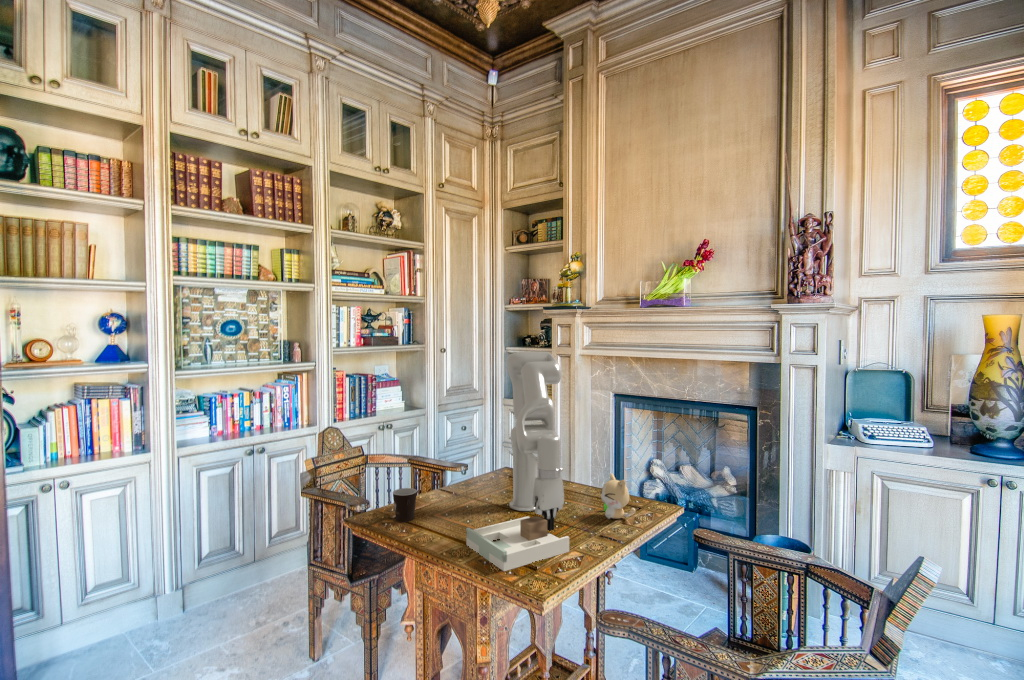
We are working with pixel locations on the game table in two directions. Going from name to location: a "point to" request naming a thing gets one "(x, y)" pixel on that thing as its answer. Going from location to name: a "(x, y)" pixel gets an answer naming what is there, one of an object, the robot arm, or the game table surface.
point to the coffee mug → (404, 504)
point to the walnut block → (533, 528)
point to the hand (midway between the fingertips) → (549, 529)
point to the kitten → (615, 498)
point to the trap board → (513, 545)
